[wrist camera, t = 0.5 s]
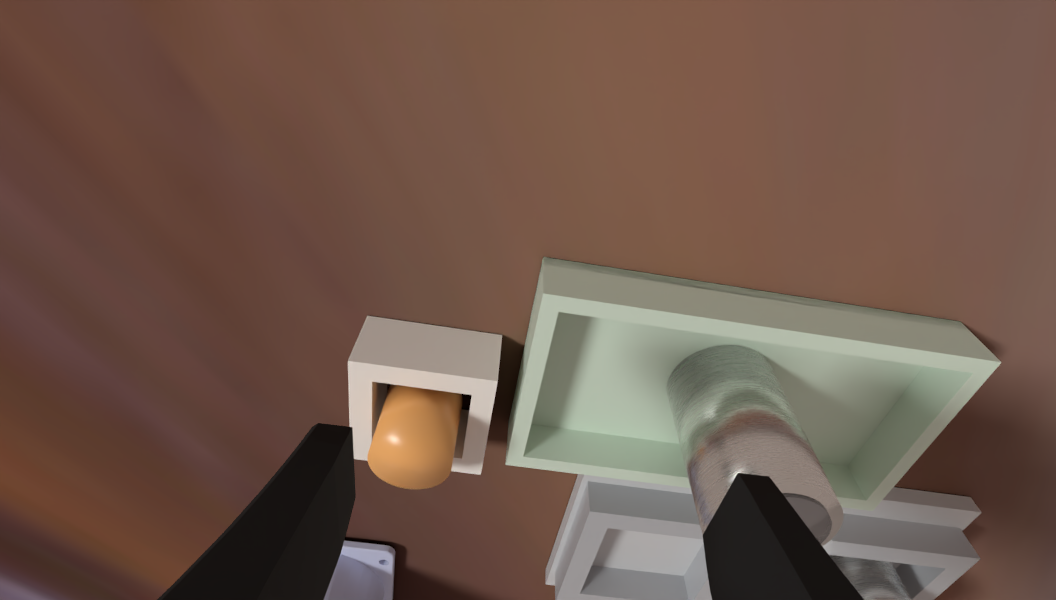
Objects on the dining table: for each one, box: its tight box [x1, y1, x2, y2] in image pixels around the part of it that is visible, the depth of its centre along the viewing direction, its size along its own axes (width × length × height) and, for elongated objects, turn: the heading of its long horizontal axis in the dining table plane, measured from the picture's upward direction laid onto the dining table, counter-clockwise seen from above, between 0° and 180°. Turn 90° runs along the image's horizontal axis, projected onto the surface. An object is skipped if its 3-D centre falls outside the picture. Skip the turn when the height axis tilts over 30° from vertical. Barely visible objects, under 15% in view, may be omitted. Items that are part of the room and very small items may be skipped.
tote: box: [506, 257, 1001, 511], centre depth 21 cm, size 8×15×2 cm, turn 81°
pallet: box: [546, 474, 982, 600], centre depth 27 cm, size 10×18×2 cm, turn 81°
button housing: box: [348, 316, 502, 475], centre depth 21 cm, size 5×5×2 cm
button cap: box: [367, 384, 463, 489], centre depth 20 cm, size 3×3×3 cm
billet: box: [667, 345, 844, 546], centre depth 19 cm, size 4×4×6 cm
